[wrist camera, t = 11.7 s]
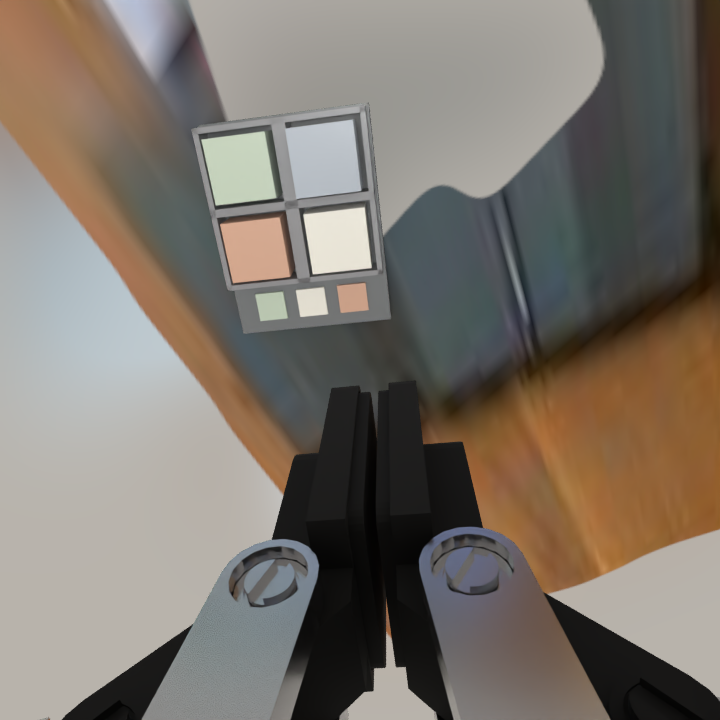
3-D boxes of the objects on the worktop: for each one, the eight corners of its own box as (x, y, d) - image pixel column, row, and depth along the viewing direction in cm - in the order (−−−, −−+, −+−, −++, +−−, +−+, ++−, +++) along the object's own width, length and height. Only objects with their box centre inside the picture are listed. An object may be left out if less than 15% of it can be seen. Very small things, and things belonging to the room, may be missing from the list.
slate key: (355, 119, 40) (352, 119, 37) (362, 186, 41) (361, 191, 39) (291, 127, 40) (285, 128, 37) (302, 193, 42) (296, 199, 39)
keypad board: (368, 102, 42) (367, 101, 39) (390, 313, 49) (391, 328, 46) (203, 125, 43) (188, 126, 40) (247, 327, 50) (237, 343, 47)
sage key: (272, 130, 42) (264, 131, 39) (283, 192, 44) (276, 198, 41) (213, 137, 42) (201, 139, 39) (226, 199, 44) (215, 205, 41)
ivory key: (365, 201, 44) (364, 207, 41) (372, 258, 46) (371, 268, 43) (308, 208, 44) (303, 214, 41) (317, 264, 46) (312, 274, 43)
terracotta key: (286, 210, 44) (279, 217, 41) (295, 267, 46) (290, 276, 43) (230, 217, 45) (220, 224, 42) (241, 273, 46) (232, 283, 44)
